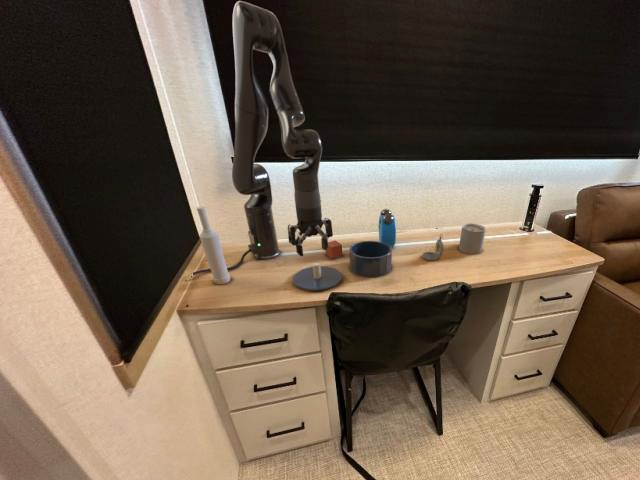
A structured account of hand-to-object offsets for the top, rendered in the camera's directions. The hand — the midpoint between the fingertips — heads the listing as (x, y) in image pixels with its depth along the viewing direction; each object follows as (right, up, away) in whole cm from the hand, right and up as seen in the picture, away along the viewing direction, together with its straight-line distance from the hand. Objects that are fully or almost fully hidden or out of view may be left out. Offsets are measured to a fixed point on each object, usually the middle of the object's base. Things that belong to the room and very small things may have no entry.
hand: (312, 252), depth 104 cm
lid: (0, -8, +6) cm, 10 cm away
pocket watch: (+43, +1, +26) cm, 50 cm away
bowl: (+18, -3, +16) cm, 24 cm away
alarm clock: (+23, +8, +34) cm, 42 cm away
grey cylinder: (+60, +7, +36) cm, 71 cm away
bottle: (-31, -9, +3) cm, 33 cm away
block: (+2, +2, +23) cm, 23 cm away
